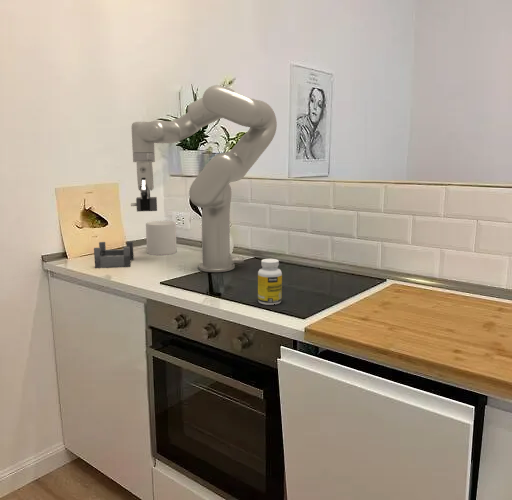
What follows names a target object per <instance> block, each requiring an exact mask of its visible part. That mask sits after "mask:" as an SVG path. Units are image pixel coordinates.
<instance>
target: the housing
mask: <svg viewBox="0 0 512 500" xmlns="http://www.w3.org/2000/svg"><path fill="white" fill-rule="evenodd" d="M122 247H123V248H121V249H119V248H118V249H106V241H99V242H98V247H94V248H93V256H94V268H95V269H109V268H115V269H116V268H130V267H131V266H132V265H131V261H134V259H135V258H134V242H133V240H127V241H126V246H122Z"/></svg>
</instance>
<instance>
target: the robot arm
mask: <svg viewBox="0 0 512 500" xmlns="http://www.w3.org/2000/svg"><path fill="white" fill-rule="evenodd" d="M221 119H225V120H227V121H230V122H232V123H234V124H236V125H238V126H242V127H245V128H249V129H248V130H247V131H246V133H244V134H243V135H242V136H241V137H240V138H239V140H238V141H237V143H236V144H235V145H234V146H233V147H232V149H230V150H229V151H227V152H221V153H217V154H216V155H214V156H213V157H211V159H210V160H209V161H208V162H207V163H206V164H205V165H204V167H203V169H202V170H201V171H200V172H199V174H198V175H197V176H196V177H195V179H194V180H193V181H192V183H191V185H190V187H189V191H188V192H189V195H188V196H189V199H190V201H191V203H192V204H193V205H194V206H195V207H198V208H202V212H201V246H202V247H201V249H202V252H201V253H202V255H201V256H202V262H201V263H199V264H198V268H197V269H198V270H199V271H202V272H204V273H205V272H206V273H222V272H224V273H225V272H229V271H232V270H234V269H235V268H236V267H235V266H236V265H235V264H244V262H245V261H244V257H242V256H241V257H239V256H232V254H231V241H230V240H231V239H230V238H231V237H230V236H231V235H230V234H231V233H230V231H231V230H230V225H231V224H230V223H231V222H230V217H231V215H230V213H231V210H230V209H231V202H232V188H231V185H230V184H231V183H234V182H239V181H240V180H242V179H243V178H245V176H246V175H247V173H248V172H249V171H250V169H251V168H252V167H253V165H255V164H256V162H257V160H258V159H259V158H260V157H261V156H262V154H263V153H264V152H265V151H266V149H267V148H268V147H269V146H270V144H271V143H272V142H273V140H274V138H275V136H276V132H277V125H278V124H277V117H276V114H275V112H274V109H273V108H272V106H271V105H270V104H268V103H267V102H265V101H263V100H259V99H255V98H251V97H249V96H245V95H242V94H240V93H237V92H236V91H235V90H234V89H232V88H230V87H227V86H224V85H218V84H215V85H211V86H209V87H208V88H207V89H206V90H205V91H204V92H203V95H202V97H201V98H199V99H197V100H194V101H193V102H190V103H189V104H188V106H187V112H186V113H185V114H183V115H181V116H180V117H177V118H175V119H174V120H171V121H169V120H168V121H167V120H151V121H134V122H132V123H131V143H132V146H131V147H132V163H136V177H137V178H136V179H137V188H138V191H140V197H141V199H140V205H141V211H140V212H149V211H148V210H150V199H149V197H151V191H153V190H154V171H153V169H154V168H153V163H155V162H156V159H155V158H156V155H155V154H156V153H155V144H175V143H177V142H180V141H183V140H185V139H186V138H187V139H188V137H191V136H193V135H194V134H195V133H197V132H199V131H200V130H201V129H202V128H204V127H206V126H209V125H210V124H213V123H215V122H217V121H219V120H221Z"/></svg>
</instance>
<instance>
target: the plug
mask: <svg viewBox="0 0 512 500" xmlns="http://www.w3.org/2000/svg"><path fill="white" fill-rule="evenodd" d="M140 199H141V196H139V197H136V199H135V201H136V202H131V203H130V207H136V212H142V211H141V205H140ZM149 199H150V210H148V211H147V212H157V211H158V201H157V200H158V198H157V196H150V197H149Z"/></svg>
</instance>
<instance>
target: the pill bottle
mask: <svg viewBox="0 0 512 500" xmlns="http://www.w3.org/2000/svg"><path fill="white" fill-rule="evenodd" d="M279 265H280V261H279V259H276V258H265V259H261V267H262V268H259V270H258V271H257V301H258V303H259V304H262V305H266V306H274V304H275V305H279V304H280V303H281V302H282V298H283V297H282V296H283V295H282V293H283V291H282V289H283V284H282V283H283V273H282V269H280V268H279Z"/></svg>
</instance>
